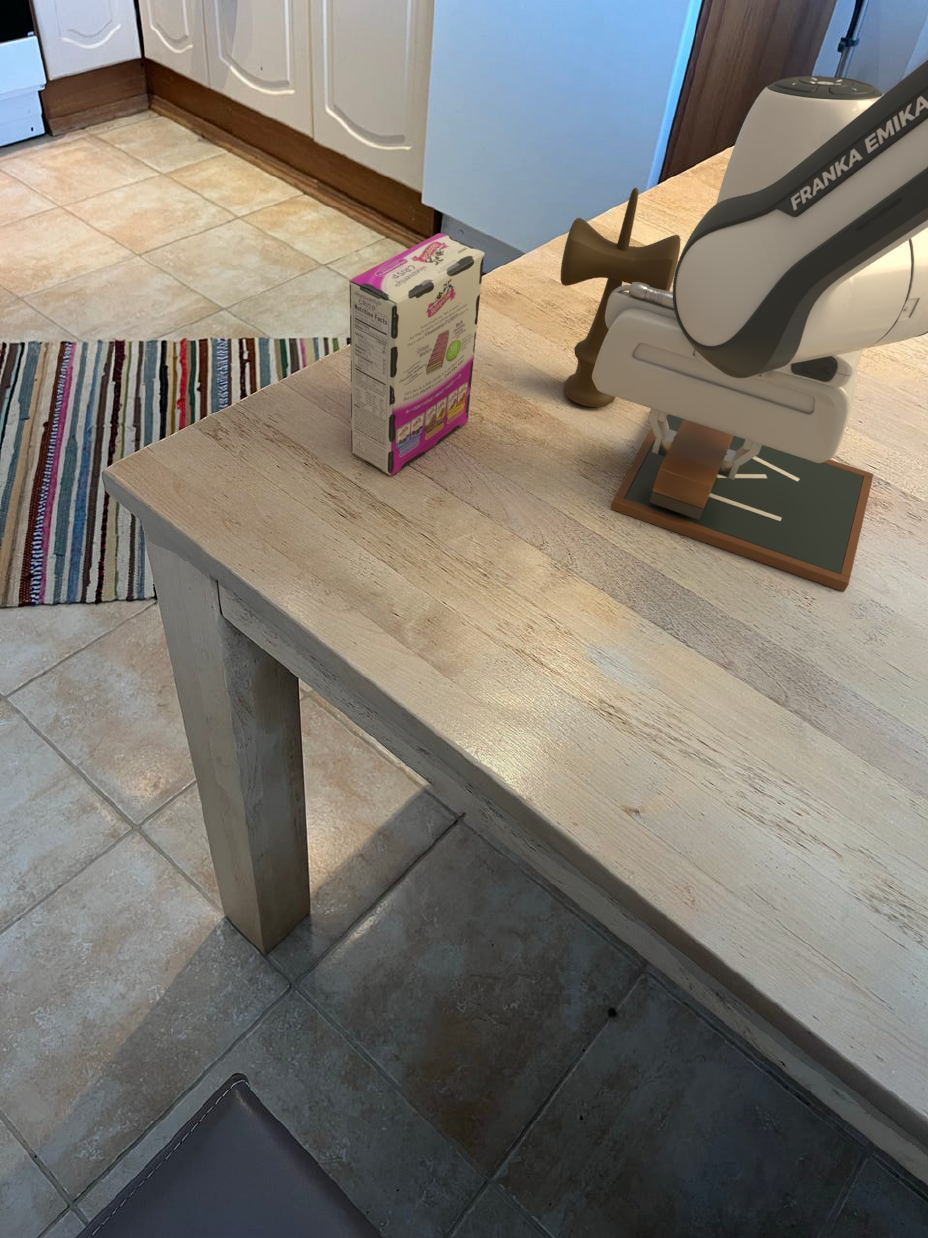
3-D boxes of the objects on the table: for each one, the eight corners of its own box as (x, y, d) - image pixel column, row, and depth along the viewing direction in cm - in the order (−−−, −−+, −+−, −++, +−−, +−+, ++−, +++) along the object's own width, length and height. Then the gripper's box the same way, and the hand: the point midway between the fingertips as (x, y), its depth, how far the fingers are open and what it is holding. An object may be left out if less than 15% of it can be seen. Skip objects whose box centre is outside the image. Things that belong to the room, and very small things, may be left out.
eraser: (726, 455, 84) (738, 421, 82) (699, 520, 78) (711, 486, 75) (679, 439, 85) (690, 406, 83) (648, 502, 79) (659, 468, 76)
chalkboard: (869, 482, 87) (874, 472, 86) (844, 592, 76) (849, 583, 75) (660, 413, 91) (663, 404, 90) (610, 509, 80) (612, 499, 80)
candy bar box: (426, 400, 88) (439, 229, 76) (469, 423, 87) (489, 251, 75) (345, 453, 82) (346, 275, 70) (389, 479, 80) (398, 301, 68)
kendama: (634, 424, 89) (691, 214, 74) (534, 401, 90) (571, 190, 75) (641, 390, 93) (697, 185, 78) (546, 369, 94) (584, 162, 79)
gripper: (600, 292, 70) (568, 443, 81) (876, 376, 66) (804, 524, 76) (625, 258, 75) (591, 405, 85) (886, 335, 70) (817, 480, 80)
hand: (694, 462), depth 80 cm, fingers closed on eraser, 4 cm apart
